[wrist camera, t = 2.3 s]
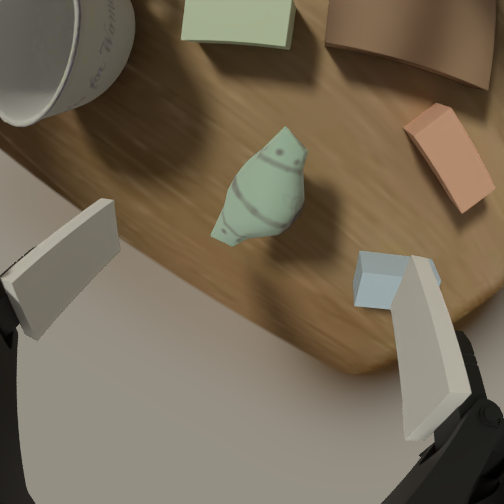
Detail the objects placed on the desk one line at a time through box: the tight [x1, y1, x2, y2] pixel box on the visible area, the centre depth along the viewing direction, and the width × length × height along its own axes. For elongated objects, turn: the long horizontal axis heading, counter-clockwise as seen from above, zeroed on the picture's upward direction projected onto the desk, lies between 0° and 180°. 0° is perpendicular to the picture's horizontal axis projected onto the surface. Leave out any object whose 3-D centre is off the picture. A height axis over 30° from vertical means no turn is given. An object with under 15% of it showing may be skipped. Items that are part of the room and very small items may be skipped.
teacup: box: [0, 0, 135, 127], centre depth 14 cm, size 14×11×8 cm
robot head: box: [211, 126, 308, 247], centre depth 18 cm, size 8×4×7 cm, turn 148°
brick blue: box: [353, 251, 441, 310], centre depth 22 cm, size 6×3×3 cm, turn 90°
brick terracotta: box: [403, 103, 496, 213], centre depth 17 cm, size 6×3×3 cm, turn 45°
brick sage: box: [181, 0, 296, 50], centre depth 15 cm, size 6×3×3 cm, turn 83°
